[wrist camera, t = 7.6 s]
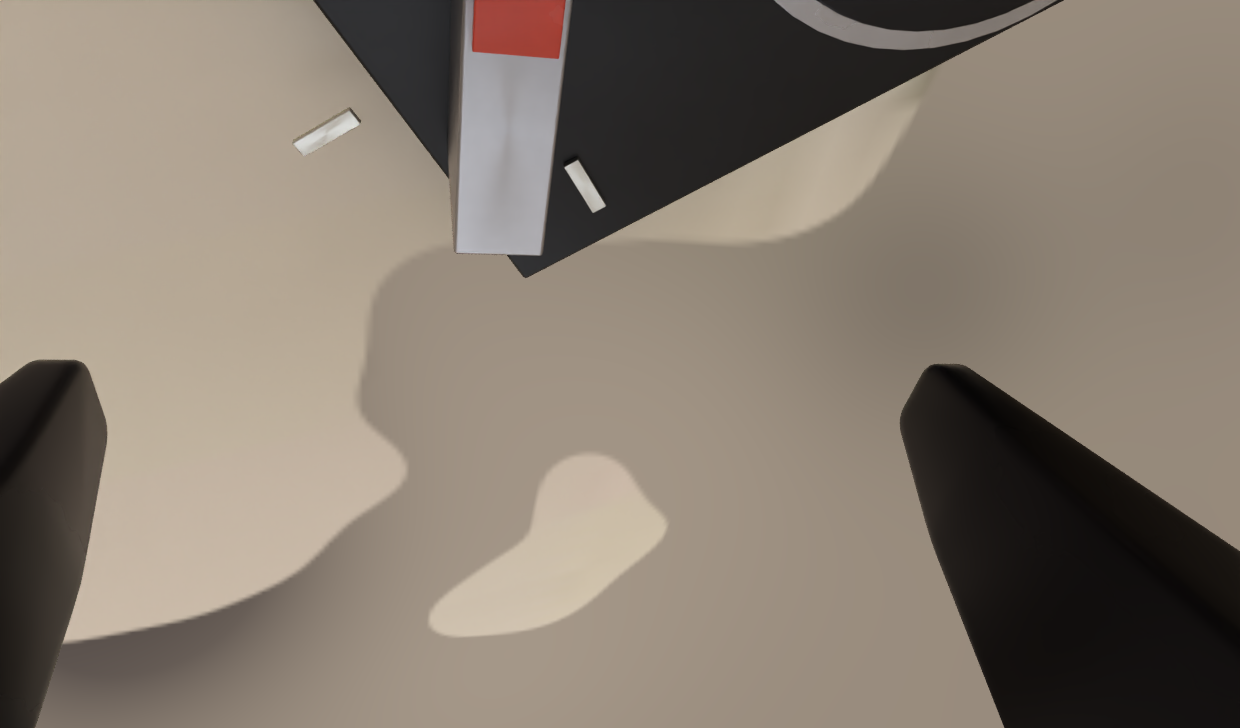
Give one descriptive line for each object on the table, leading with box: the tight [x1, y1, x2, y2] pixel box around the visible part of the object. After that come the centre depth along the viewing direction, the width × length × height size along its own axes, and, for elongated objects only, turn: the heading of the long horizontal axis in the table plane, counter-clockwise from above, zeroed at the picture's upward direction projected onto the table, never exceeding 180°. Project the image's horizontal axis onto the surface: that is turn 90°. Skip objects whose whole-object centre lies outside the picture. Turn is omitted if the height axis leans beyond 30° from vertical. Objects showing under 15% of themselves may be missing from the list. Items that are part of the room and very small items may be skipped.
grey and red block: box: [447, 0, 573, 256], centre depth 15 cm, size 5×2×4 cm, turn 171°
